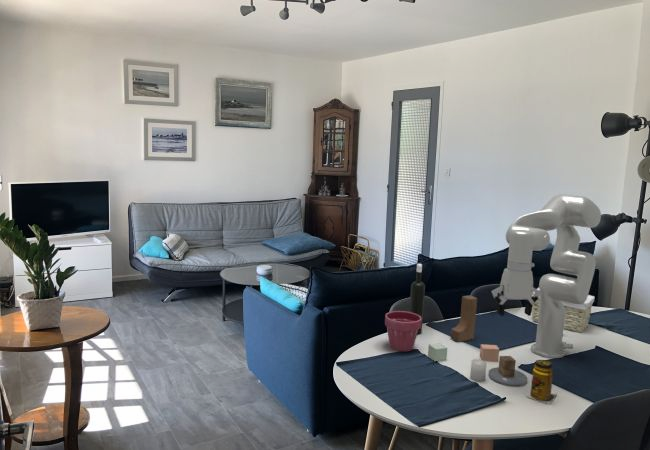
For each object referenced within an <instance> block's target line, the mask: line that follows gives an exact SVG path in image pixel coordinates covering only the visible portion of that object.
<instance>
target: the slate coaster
mask: <svg viewBox="0 0 650 450" xmlns="http://www.w3.org/2000/svg"><path fill="white" fill-rule="evenodd" d="M498 369H499V366H498V367H497V366H496V367H492V368H490V369H489V370H488V373H487V374H488V375H487V376H488V378H490V380H491V381H493V382H495V383H497V384H500V385H503V386H507V387H523V386H525V385H527V384H528V376H527V375H526V374H525V373H524V372H522V371H520V370H517V369H515V373H514V377H503V376H502V375H501V374H500V373H499V372H498Z"/></svg>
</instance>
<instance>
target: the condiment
mask: <svg viewBox="0 0 650 450" xmlns="http://www.w3.org/2000/svg"><path fill="white" fill-rule="evenodd" d="M553 377H554V372H553V363H552V362H551V361H548V360H545V359H537V360H535V362H534V368H533V370H532V378H531V385H530V386H531V387H530V392H529V393H528V394H527V395H526V396H525V397H526V398H529V399H532V400H535V401H538V402H540V403H544V404H547V405H549V404H551V403H552V402H553V401H554V399H555V398H556V397H557V395H558V394H556V393H552V388H553V387H552V385H553Z"/></svg>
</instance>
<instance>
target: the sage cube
mask: <svg viewBox="0 0 650 450" xmlns="http://www.w3.org/2000/svg"><path fill="white" fill-rule="evenodd" d="M427 348H428V349H427V350H428V351H427V357H428V358H429V359H431V360H432V361H433V360H434V361H433V362H435V361H438V362H444V361H445V362H446V361H447V360H448V359H447V358H448V347H447V346H445V345H444V344H443V343H441V342H437V343H428V347H427Z"/></svg>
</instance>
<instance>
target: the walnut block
mask: <svg viewBox="0 0 650 450" xmlns="http://www.w3.org/2000/svg"><path fill="white" fill-rule="evenodd" d="M516 362H517V360H516V359H515V358H514V357H513V356H511V355H499V358H498V367H499V369H498V372H499V373H500V374H501V375H502V376H503V377H514V373H515V370H516Z"/></svg>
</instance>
